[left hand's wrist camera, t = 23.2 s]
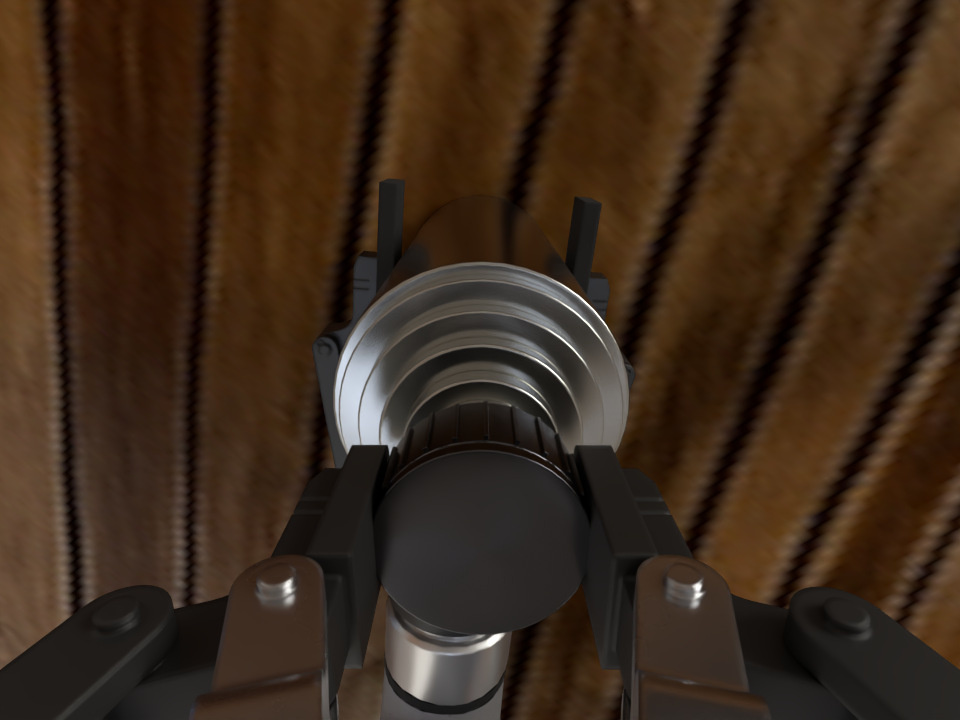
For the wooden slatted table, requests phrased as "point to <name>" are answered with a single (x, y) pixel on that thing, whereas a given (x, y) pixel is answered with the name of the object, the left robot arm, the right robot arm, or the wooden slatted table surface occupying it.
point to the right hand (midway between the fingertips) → (490, 191)
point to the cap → (481, 520)
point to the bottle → (480, 335)
